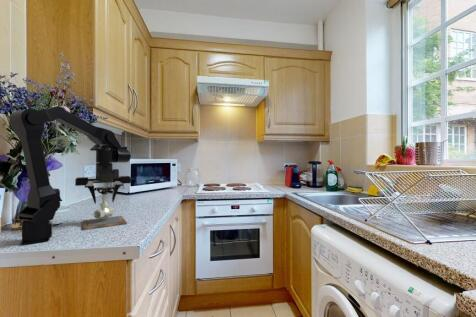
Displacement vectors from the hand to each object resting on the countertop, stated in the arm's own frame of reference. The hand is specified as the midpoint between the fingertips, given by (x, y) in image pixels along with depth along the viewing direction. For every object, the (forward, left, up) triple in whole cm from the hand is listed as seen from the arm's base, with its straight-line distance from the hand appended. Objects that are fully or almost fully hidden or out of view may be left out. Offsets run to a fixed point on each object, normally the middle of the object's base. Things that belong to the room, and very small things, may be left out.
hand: (104, 202), depth 93 cm
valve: (0, 0, -6) cm, 6 cm away
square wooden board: (0, 0, -8) cm, 8 cm away
